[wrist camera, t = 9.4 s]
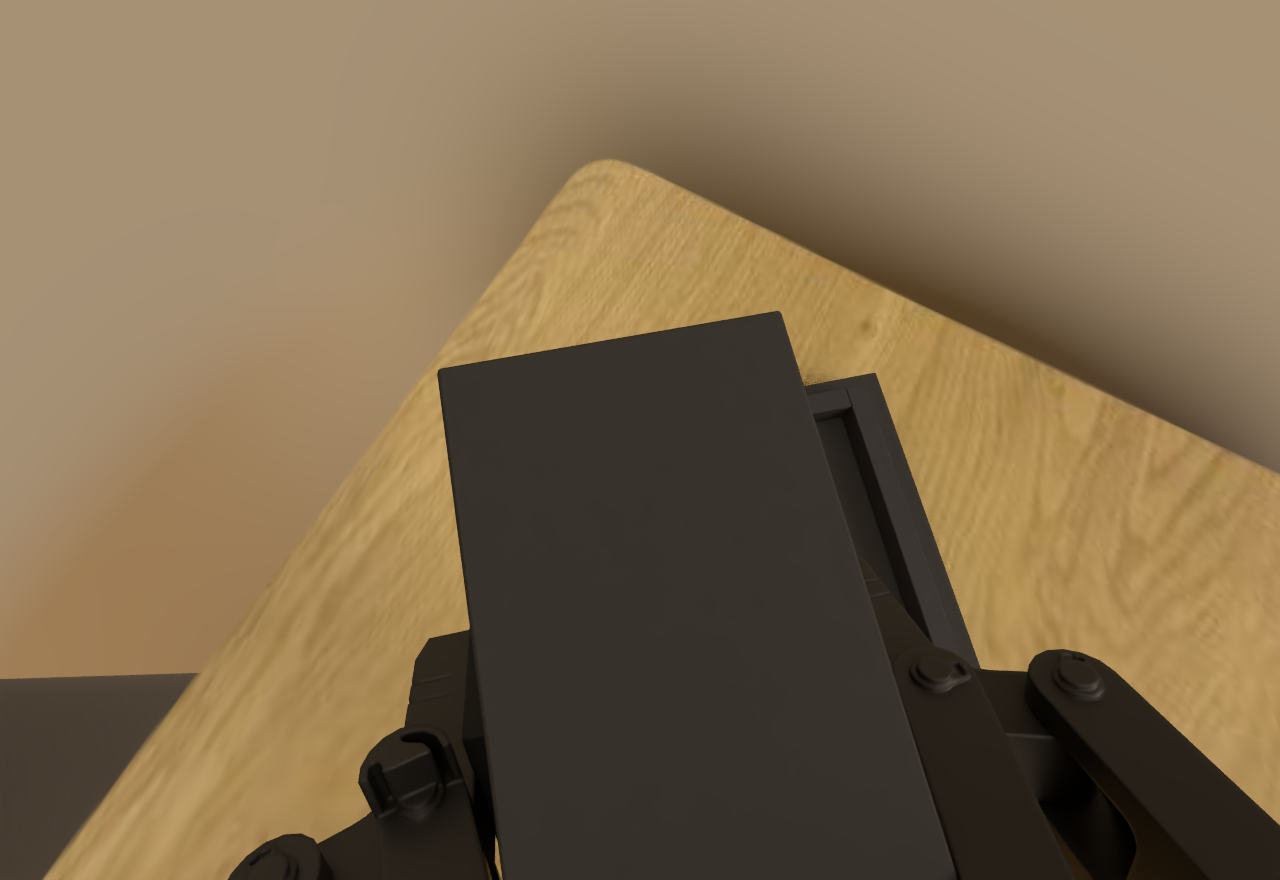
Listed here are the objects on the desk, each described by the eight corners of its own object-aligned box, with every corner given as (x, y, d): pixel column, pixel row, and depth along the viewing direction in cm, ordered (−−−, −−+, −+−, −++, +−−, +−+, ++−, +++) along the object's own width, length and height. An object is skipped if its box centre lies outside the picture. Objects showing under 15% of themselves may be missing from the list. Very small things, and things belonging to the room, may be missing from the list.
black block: (589, 914, 17) (555, 1344, 6) (526, 522, 20) (431, 364, 9) (784, 862, 17) (1058, 1178, 7) (693, 489, 20) (784, 304, 10)
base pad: (722, 758, 30) (737, 770, 27) (645, 429, 35) (649, 404, 31) (968, 696, 31) (1011, 700, 28) (861, 387, 36) (887, 359, 33)
